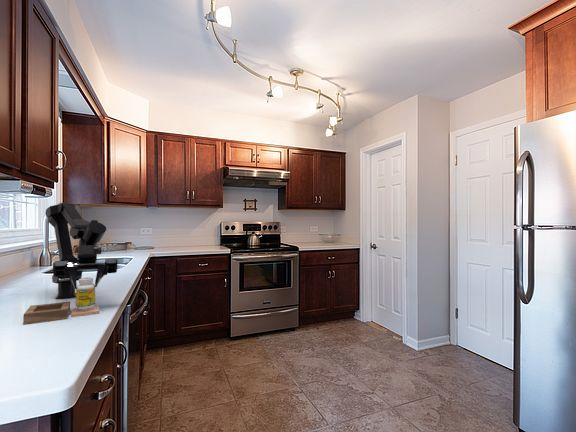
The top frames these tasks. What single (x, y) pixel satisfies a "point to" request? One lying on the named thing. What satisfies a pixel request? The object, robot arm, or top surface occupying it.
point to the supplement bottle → (85, 293)
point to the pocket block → (46, 312)
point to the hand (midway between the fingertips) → (85, 287)
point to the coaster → (85, 311)
